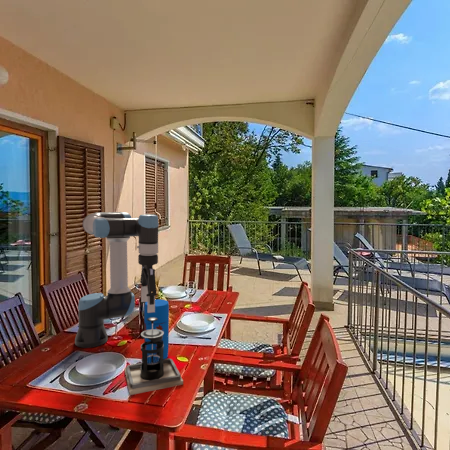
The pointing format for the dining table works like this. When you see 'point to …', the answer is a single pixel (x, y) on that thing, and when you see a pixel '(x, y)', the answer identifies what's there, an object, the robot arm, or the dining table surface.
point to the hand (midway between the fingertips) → (147, 306)
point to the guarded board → (141, 385)
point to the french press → (153, 359)
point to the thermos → (158, 324)
